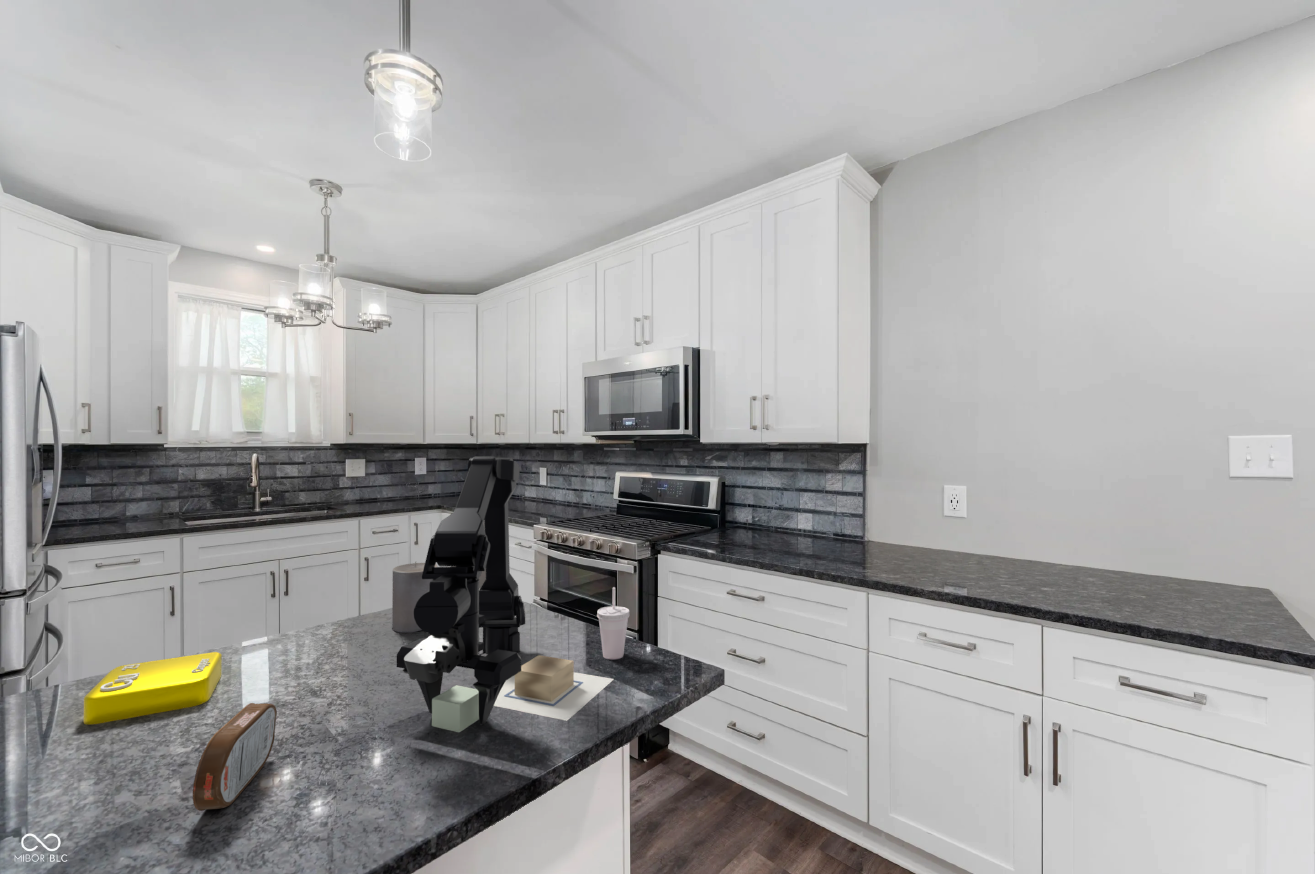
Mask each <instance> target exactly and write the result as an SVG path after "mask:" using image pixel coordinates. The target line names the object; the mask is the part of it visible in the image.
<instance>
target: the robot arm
mask: <svg viewBox="0 0 1315 874" xmlns="http://www.w3.org/2000/svg"><path fill="white" fill-rule="evenodd" d="M519 478H520V465H519V463H518V462H517V461H515V460H513V457H496V456H473V457H470V458H469V459H468V462H467V474H466V477H465V478H464V479H465V480H464V483H463V485H462V489H461V492H460V494H459V497H458V500H457V501H456V504H455V508H454V511H453V512H452V513H451V514H449V515H448V516H446V517H445V518H443V519H442V520H441V521H440V523H439V525H438V527H437V529H436V530H435V533H434V535H432V536H431V538H430V542H429V545H428V549H427V553H426V557H425V561H424V563H425V565H424V570H423V574H422V579H433V580H432V581H431V582H430V585H429V591H428V592H426V593H425V594H424V595H422V596H421V597H420V598H419V600H418V601H417V603H416V606H415V608H414V619H415V622H416V624H417V625H418V627H419V628H420V629H421V630H420V631H423V632H424V633H426V634H429V635H428V637H421V638H419V639H416V640H414V641H412V642H409V643H407V644H404V645H402V646H401V647H400V648H399V650H398V651H397V653H396V668H400V669H402V672H403V674H407V675H408V676H409V677H408V678H409V679H410V680H413V681H417V684H418V686H419V689H420V691H421V693H422V696H423V698H424V702H425V704H426V707H427V710H428V712H429V714H431V715H432V699H433V698H435V697H436V696H438V695H440V694H441V691H442V684H443V676H444V673H446V674H450V673H452V671H454V669H455V668H457V667H459V668H465V669H471V670H473V675H474V678H475V679H476V682H474V683H472V686H473V687H474V689H477V690H478V691H479V720H478V721H479V725H480V726H484V725H485V724H486V723H487V721H488V719H489V717H490V715H491V713H492V710H493V708H494V707H495V706H494V704H495V701H496V699H497V697H498V695H499V692H500V690H501V689H502V687H503V685H504V683H505V681H506V680H508V679H509V678H511V677H512V676H514V675H516V674H517V673H519V672H520V671H521V666H522V657H521V655H519V653H520V652H521V651H520V650H521V649H520V648H521V638H520V637H521V632H520V631H519V628H520V627H521V626H524V625H526V610H525V603H524V602H523V599H522V596H521V595H520V594H519V585H518V584H519V583H517V581H516V580H515V578H514V577H513V576H512V574H511V573H510V531H509V530H510V528H509V527H510V523H509V521H510V520H509V500H510V499H511V497H512V495H513V494H514V492H515V489H516V488H517V482H518V481H519ZM435 564H436V565H437V567H435ZM482 572H485V579H484V581H483V583H482V585H481V586H480V577H481V576H482ZM480 628H482V641H479V640H480V637H479V634H480V633H479V632H480V631H479V629H480ZM481 651H482V652H481ZM479 652H481V653H480V654H479ZM484 654H486V655H484Z"/></svg>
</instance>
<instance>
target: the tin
mask: <svg viewBox="0 0 1315 874" xmlns="http://www.w3.org/2000/svg"><path fill="white" fill-rule="evenodd" d="M277 715H278V710H277V707H276V705H274V704H273V703H265V702H264V703H254V702H250V703H248V704H246V705H245V706H244V707H243V708H241V710H239V712H238V713H236V714H235V715H234V716H233V717H232V718H231V719H230V720H228V721H227V722H226V723H225V724H224V725H222V727H220V728H219V729H218V730H216V732H215V733H214V734H212V735H213V736H211V738H210V740H209V741H208V742H207V744H206V746H205V748H204V749H203V752H202V754H201V757H200V760H199V762H198V764H197V767H196V772H195V776H194V779H193V785H192V802H193V807H194V808H195V809H196V810H197V811H199V812H201V811H202V812H203V811H206V810H218V809H219V810H220V809H224V808H227V807H229V806H231V805H232V804H233V803H234V802H235V801H236V799H238V797H239V796H240V795H241V794H242V792H244V790H245V789H246V788H247V786H248V785H249V784H250V783H251V782H252V780H253V779H254V778H256V776H257V775H258V773H259V772H260V771H261V770H262V769H263V767H264V766H265V764H266V762H267V761H268V759H269V757H270V754H271V752H272V748H273V746H274V742H275V732H276V721H277Z"/></svg>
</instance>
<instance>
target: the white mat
mask: <svg viewBox="0 0 1315 874" xmlns="http://www.w3.org/2000/svg"><path fill="white" fill-rule="evenodd" d="M613 681H614V678H610V677H604V676H599V675H598V676H597V675H591V674H585V673H580V672H575V671H574V684H573V685H572V686H571V687H569V688H568V689H567V690H566V691H564V692H563V693H562V694H561V695H559V696H558V697H557V698H555V699H554V700H553V701H552V702H551V701H546V700H540V699H535V698H530V697H525V696H520V695H515V675H514V676H512V677H511V678H509V679H508V680H506V681H505V683H504V685H503V687H502V689H501V690H500V692H499V695H498V697H497V699H496V701H495V704H494V706H493V707H496V708H497V707H498V708H501V709H507V710H512V711H516V712H522V713H526V714H531V715H536V716H540V717H546V718H550V719H555V720H559V721H565V722H568V721H569V720H570V719H572V717H574V716H575V714H577V713H578V712H579V711H580V710H581V709H583V707H585V705H587V704H589V702H590V701H592V700H593V698H595V697H596V696H597V695H598V694H599V693H601V691H602V690H604V689H605V688H607V686H608V685H609V684H611V683H612V682H613Z"/></svg>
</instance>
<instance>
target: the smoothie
mask: <svg viewBox="0 0 1315 874" xmlns="http://www.w3.org/2000/svg"><path fill="white" fill-rule="evenodd" d="M630 615H631V614H630V609H629V608H627V607H624V606H618V605H616V587H615V586H613V587H612V606H611V605H610V606H604V607H600V608H599V609H597V614H596V617H597V618H598V623H599V632H600V641H601V649H602V650H601V651H602V657H603V658H604V659H606V660H620V659H621V658H623V657H624V653H625V645H626V636H627V629H628V620H629V617H630Z"/></svg>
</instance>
